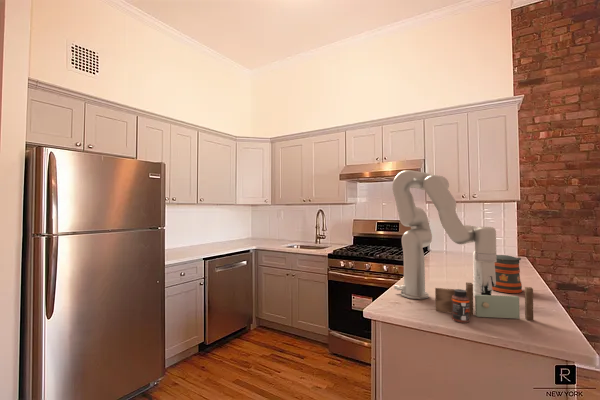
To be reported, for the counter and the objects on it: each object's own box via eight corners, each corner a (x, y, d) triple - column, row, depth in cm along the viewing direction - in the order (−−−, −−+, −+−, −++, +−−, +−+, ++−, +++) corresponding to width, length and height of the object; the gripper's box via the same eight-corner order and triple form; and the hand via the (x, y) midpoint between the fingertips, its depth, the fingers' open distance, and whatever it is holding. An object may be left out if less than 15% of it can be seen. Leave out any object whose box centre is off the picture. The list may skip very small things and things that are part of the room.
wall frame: (436, 311, 127) (435, 282, 127) (435, 309, 130) (435, 280, 130) (534, 321, 116) (533, 288, 116) (531, 318, 119) (530, 286, 119)
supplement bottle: (469, 324, 113) (468, 293, 114) (451, 321, 117) (450, 291, 117) (470, 319, 118) (469, 289, 119) (452, 316, 122) (452, 287, 122)
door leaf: (478, 317, 119) (477, 296, 119) (475, 315, 122) (475, 294, 122) (521, 319, 117) (521, 298, 117) (517, 317, 120) (517, 296, 120)
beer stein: (477, 289, 158) (476, 250, 158) (479, 283, 170) (478, 246, 171) (523, 295, 148) (522, 253, 148) (521, 288, 160) (521, 249, 160)
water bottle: (486, 300, 141) (485, 244, 142) (471, 296, 146) (470, 243, 147) (493, 296, 147) (492, 243, 147) (478, 293, 152) (477, 241, 152)
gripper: (470, 254, 136) (470, 296, 135) (481, 260, 121) (482, 307, 121) (489, 254, 134) (490, 297, 134) (503, 260, 119) (503, 309, 119)
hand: (486, 302), depth 127 cm, fingers closed
